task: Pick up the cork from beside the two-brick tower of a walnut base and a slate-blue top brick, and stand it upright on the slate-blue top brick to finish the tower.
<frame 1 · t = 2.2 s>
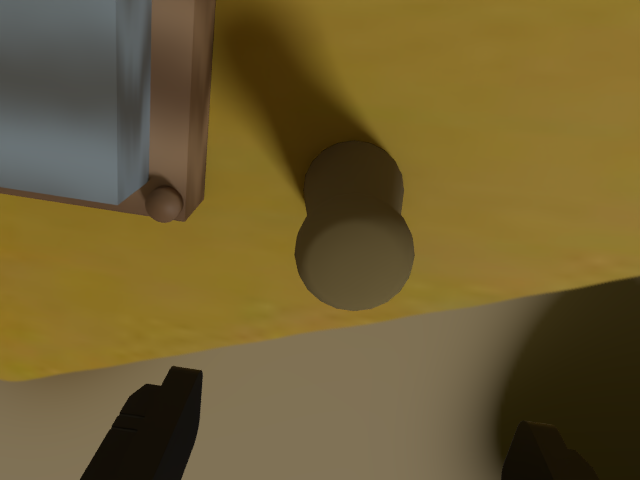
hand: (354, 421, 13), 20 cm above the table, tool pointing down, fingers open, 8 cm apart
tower: (88, 63, 29), on the table
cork: (353, 189, 31), on the table
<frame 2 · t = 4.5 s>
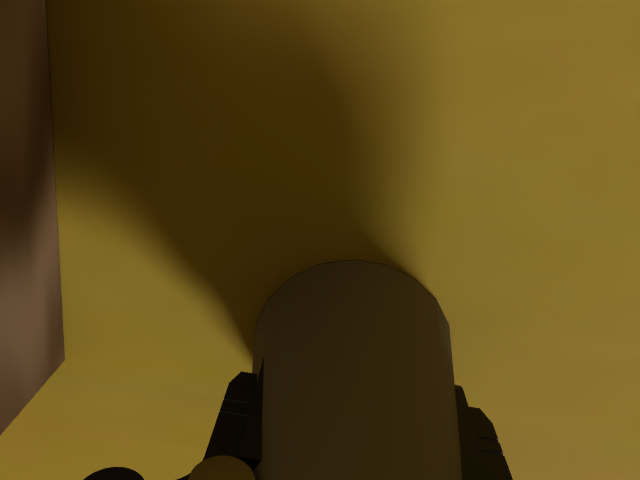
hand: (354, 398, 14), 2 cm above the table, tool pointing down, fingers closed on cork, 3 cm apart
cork: (351, 345, 16), on the table, touching gripper
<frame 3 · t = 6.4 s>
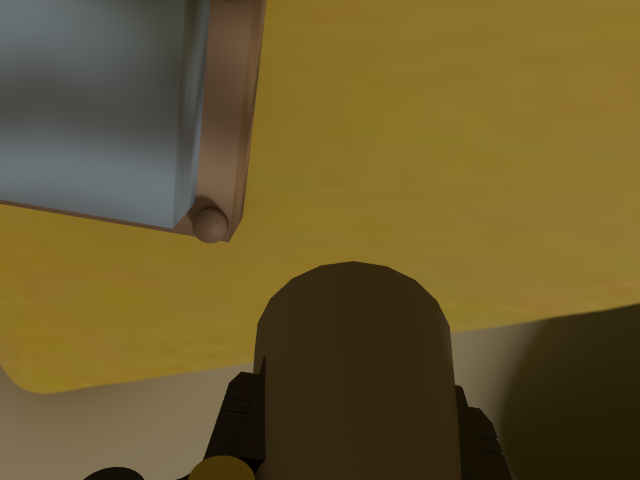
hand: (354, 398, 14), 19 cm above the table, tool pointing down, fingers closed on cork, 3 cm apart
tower: (134, 84, 30), on the table
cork: (352, 346, 16), point 17 cm above the table, touching gripper
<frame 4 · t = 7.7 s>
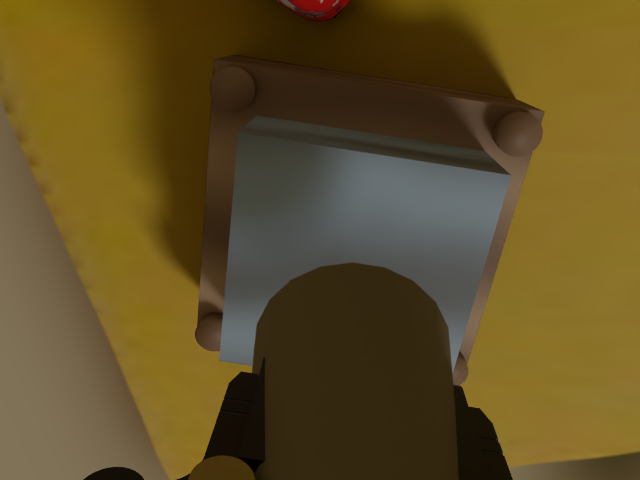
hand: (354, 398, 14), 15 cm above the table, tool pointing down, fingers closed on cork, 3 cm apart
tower: (351, 210, 28), on the table
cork: (351, 348, 16), point 13 cm above the table, touching gripper
when the fingers open (12 cm above the table, at t = 8.8 s): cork drops 1 cm, resting on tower.
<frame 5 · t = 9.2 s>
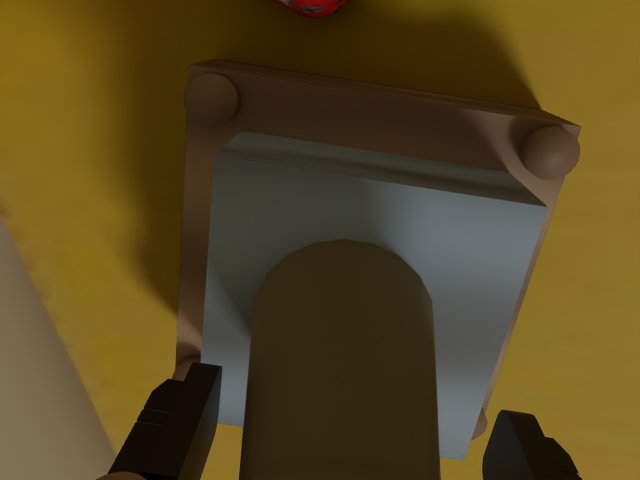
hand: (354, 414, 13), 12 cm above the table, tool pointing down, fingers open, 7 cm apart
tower: (352, 235, 25), on the table
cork: (342, 319, 17), point 8 cm above the table, touching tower
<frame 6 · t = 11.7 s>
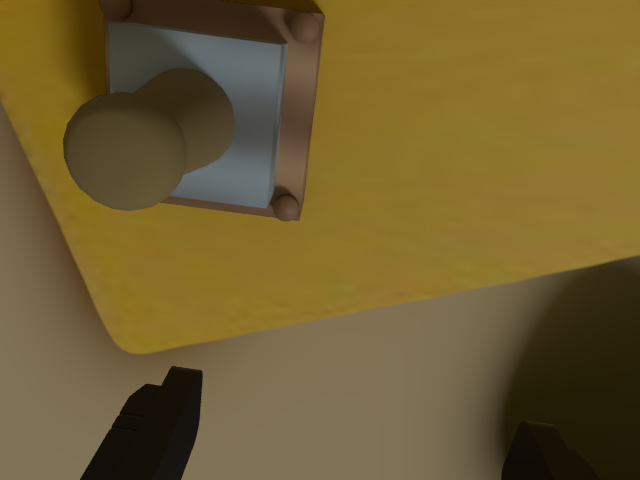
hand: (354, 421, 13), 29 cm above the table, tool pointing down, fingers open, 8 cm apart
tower: (221, 104, 39), on the table
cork: (187, 119, 32), point 8 cm above the table, touching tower
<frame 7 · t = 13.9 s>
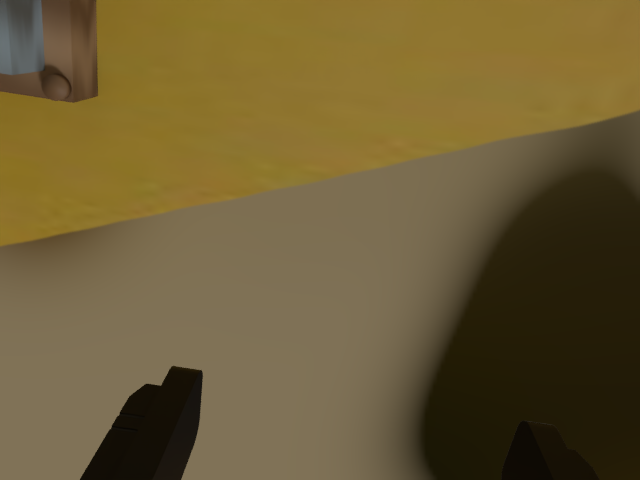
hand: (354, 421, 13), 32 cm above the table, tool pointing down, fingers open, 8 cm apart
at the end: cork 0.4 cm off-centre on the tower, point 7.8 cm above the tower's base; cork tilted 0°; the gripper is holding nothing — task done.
